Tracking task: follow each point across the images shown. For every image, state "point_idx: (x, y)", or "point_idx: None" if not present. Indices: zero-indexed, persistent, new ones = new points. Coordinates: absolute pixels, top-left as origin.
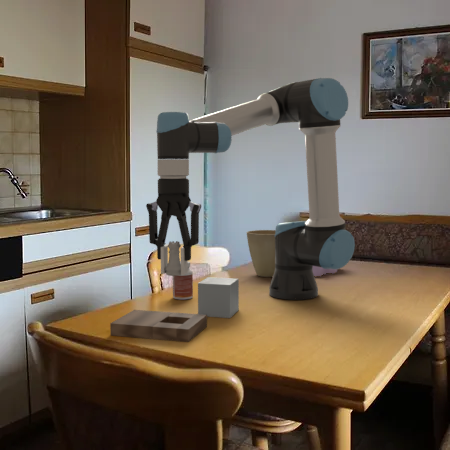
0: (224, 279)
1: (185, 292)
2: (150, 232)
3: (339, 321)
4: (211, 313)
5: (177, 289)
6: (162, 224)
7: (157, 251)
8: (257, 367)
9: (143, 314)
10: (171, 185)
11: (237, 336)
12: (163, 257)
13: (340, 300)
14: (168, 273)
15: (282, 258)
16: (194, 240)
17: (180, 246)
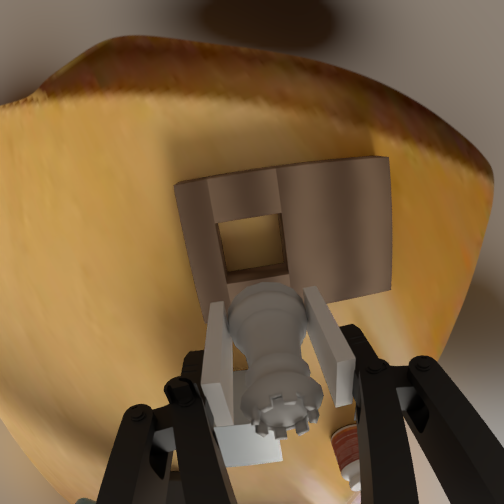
0: (235, 458)
1: (342, 438)
2: (458, 399)
3: (45, 397)
4: (237, 375)
5: (357, 437)
6: (397, 484)
7: (369, 346)
8: (10, 117)
9: (354, 262)
10: None
11: (109, 268)
12: (322, 327)
13: None
14: (275, 283)
15: None
16: (125, 426)
17: (245, 411)
